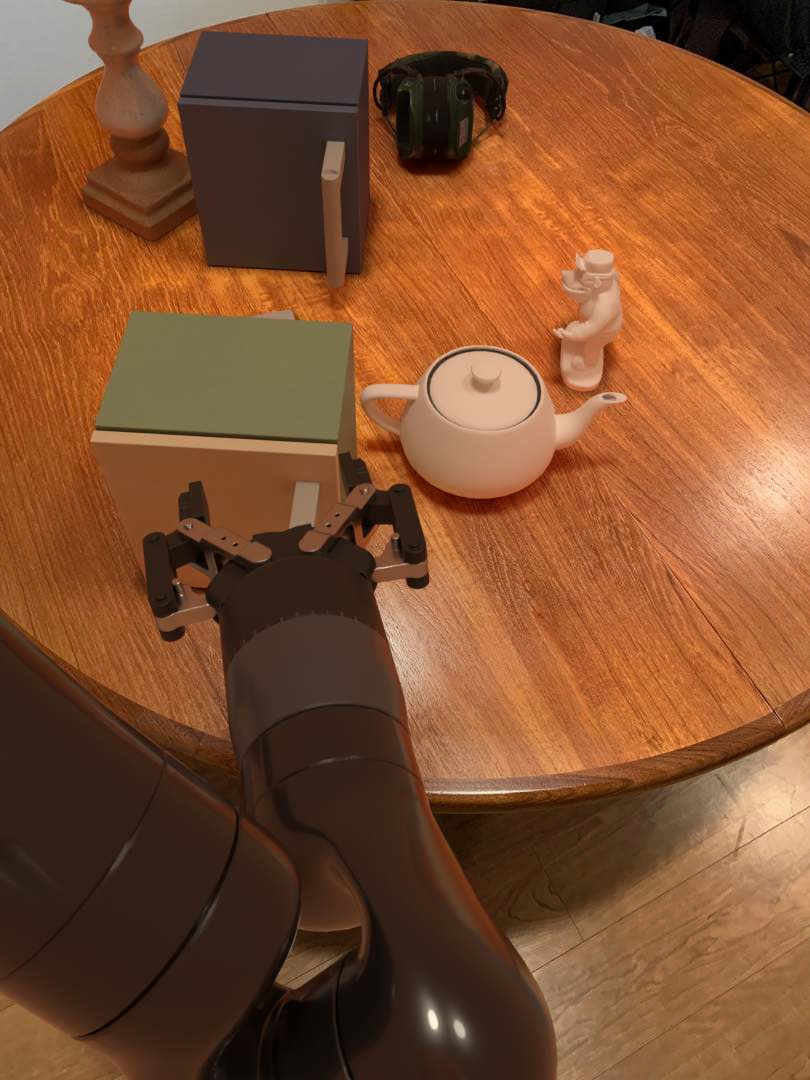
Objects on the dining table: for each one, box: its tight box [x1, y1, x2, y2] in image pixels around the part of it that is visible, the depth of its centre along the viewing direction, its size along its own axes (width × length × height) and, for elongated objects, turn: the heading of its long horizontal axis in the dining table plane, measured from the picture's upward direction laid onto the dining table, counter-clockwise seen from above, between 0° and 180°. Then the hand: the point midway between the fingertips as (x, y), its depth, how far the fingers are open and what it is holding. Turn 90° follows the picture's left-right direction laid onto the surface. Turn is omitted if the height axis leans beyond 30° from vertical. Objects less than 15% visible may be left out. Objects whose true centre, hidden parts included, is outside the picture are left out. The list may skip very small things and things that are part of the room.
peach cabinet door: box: [89, 429, 341, 589], centre depth 66 cm, size 7×16×18 cm, turn 87°
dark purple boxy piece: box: [179, 30, 371, 267], centre depth 93 cm, size 11×16×18 cm
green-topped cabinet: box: [93, 310, 358, 503], centre depth 71 cm, size 11×16×18 cm
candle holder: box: [61, 0, 198, 242], centre depth 93 cm, size 11×11×24 cm
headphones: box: [372, 50, 510, 161], centre depth 108 cm, size 13×13×20 cm
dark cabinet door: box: [176, 96, 362, 289], centre depth 88 cm, size 7×16×18 cm, turn 87°
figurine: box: [552, 248, 624, 392], centre depth 85 cm, size 9×7×12 cm
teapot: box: [359, 344, 628, 499], centre depth 79 cm, size 22×14×11 cm, turn 86°
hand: (272, 479), depth 53 cm, fingers open, 8 cm apart
